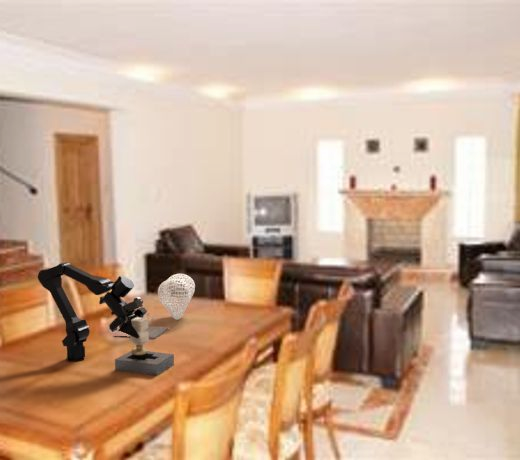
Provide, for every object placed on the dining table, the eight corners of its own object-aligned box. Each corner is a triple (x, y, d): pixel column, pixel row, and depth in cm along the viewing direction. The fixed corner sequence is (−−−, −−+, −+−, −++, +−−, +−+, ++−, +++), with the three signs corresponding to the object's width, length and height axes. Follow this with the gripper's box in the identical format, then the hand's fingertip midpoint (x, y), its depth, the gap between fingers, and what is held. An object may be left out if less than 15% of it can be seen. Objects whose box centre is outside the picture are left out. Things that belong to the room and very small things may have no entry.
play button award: (155, 336, 263) (114, 334, 268) (155, 340, 264) (114, 337, 268) (168, 327, 279) (129, 325, 284) (168, 330, 279) (130, 328, 284)
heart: (169, 312, 312) (168, 271, 310) (197, 313, 311) (197, 271, 309) (155, 326, 285) (154, 281, 282) (186, 327, 283) (185, 281, 281)
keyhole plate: (115, 370, 222) (114, 359, 222) (133, 359, 234) (133, 349, 234) (157, 375, 216) (156, 364, 216) (173, 364, 228) (173, 354, 228)
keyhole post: (128, 353, 223) (127, 320, 222) (137, 349, 229) (136, 316, 228) (142, 355, 221) (141, 322, 220) (150, 351, 227) (150, 318, 226)
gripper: (115, 296, 215) (142, 328, 213) (142, 287, 233) (167, 316, 230) (97, 315, 219) (123, 347, 216) (125, 305, 236) (150, 334, 234)
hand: (142, 335), depth 224 cm, fingers closed on keyhole post, 5 cm apart
